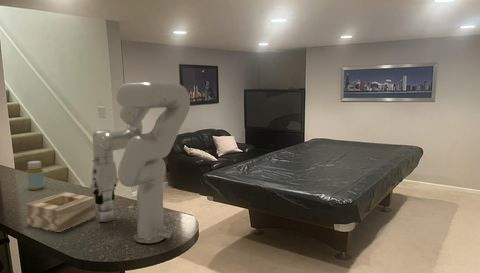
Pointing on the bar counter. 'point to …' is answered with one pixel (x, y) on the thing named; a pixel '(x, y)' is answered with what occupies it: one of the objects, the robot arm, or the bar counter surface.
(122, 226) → the bar counter surface
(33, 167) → the bottle
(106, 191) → the plastic bottle
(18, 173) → the bar counter surface
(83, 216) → the well block
